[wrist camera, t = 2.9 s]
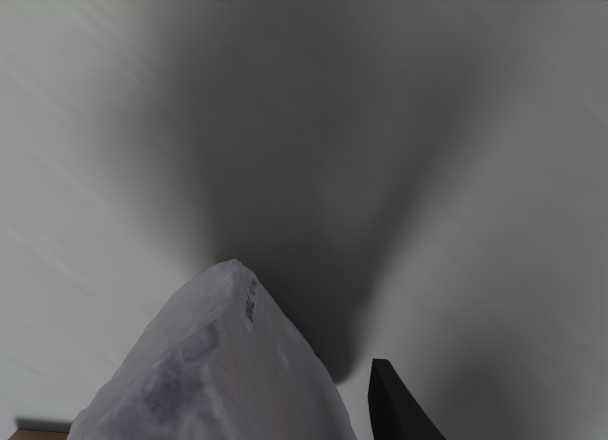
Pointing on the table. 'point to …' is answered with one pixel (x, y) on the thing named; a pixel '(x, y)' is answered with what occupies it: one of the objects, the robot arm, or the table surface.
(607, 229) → the table surface
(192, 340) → the stone block
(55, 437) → the walnut pad
